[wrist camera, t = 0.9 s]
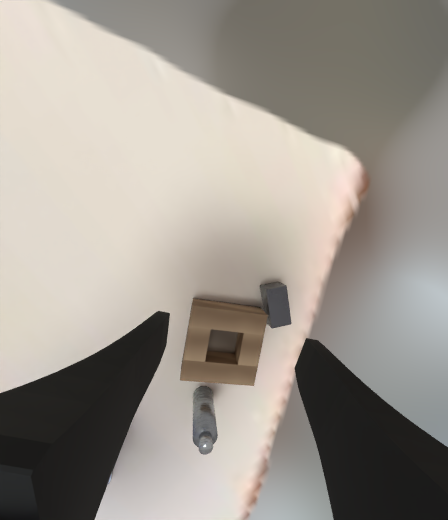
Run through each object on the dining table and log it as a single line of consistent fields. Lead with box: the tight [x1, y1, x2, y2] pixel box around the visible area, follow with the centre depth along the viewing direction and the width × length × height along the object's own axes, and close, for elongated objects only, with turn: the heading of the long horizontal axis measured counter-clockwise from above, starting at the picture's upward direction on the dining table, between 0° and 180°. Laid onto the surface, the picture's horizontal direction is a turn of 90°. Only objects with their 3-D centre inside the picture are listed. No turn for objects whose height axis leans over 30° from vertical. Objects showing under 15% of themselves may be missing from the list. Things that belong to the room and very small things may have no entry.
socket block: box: [180, 298, 268, 386], centre depth 26 cm, size 9×9×3 cm
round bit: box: [193, 386, 217, 454], centre depth 24 cm, size 3×3×7 cm
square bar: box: [260, 282, 291, 328], centre depth 27 cm, size 5×3×3 cm, turn 10°
